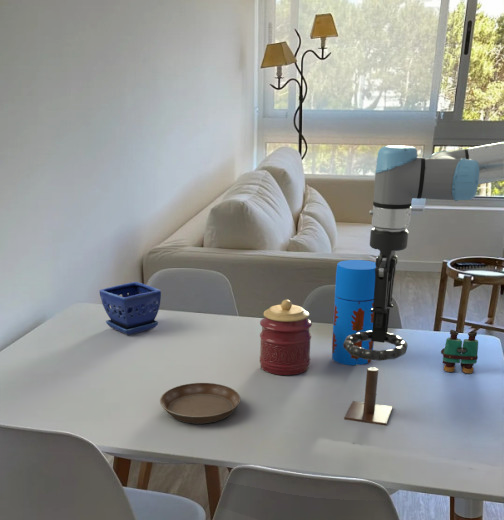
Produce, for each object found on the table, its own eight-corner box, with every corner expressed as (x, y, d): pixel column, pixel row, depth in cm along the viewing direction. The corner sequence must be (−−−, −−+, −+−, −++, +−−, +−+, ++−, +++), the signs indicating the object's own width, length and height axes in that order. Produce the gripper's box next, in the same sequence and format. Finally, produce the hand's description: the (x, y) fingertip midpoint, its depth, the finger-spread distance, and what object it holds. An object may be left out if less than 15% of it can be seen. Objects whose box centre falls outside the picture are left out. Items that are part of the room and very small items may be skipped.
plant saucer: (213, 435, 146) (213, 422, 145) (144, 416, 154) (143, 404, 153) (254, 404, 160) (254, 392, 159) (189, 389, 168) (189, 377, 167)
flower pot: (126, 339, 200) (123, 298, 195) (101, 327, 209) (97, 288, 204) (164, 329, 208) (162, 289, 203) (138, 318, 217) (136, 280, 212)
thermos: (378, 356, 189) (387, 263, 178) (361, 368, 181) (369, 271, 170) (342, 348, 194) (348, 257, 183) (324, 360, 186) (329, 265, 175)
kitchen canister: (288, 354, 190) (290, 290, 182) (320, 368, 180) (323, 301, 173) (249, 364, 183) (249, 298, 175) (280, 380, 173) (282, 310, 166)
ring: (408, 342, 152) (409, 333, 151) (403, 365, 141) (404, 355, 140) (348, 335, 155) (349, 327, 154) (338, 357, 144) (339, 348, 143)
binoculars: (478, 325, 182) (483, 334, 173) (472, 364, 186) (477, 375, 177) (442, 323, 184) (445, 331, 174) (438, 362, 187) (440, 372, 178)
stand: (392, 412, 157) (397, 364, 152) (385, 429, 149) (390, 379, 144) (352, 406, 160) (356, 359, 155) (343, 423, 152) (347, 373, 147)
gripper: (377, 220, 149) (368, 326, 160) (364, 233, 136) (355, 348, 147) (413, 223, 147) (401, 330, 158) (403, 236, 134) (391, 353, 145)
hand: (379, 339), depth 152 cm, fingers closed on ring, 2 cm apart
